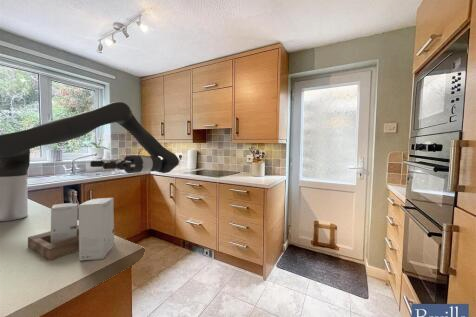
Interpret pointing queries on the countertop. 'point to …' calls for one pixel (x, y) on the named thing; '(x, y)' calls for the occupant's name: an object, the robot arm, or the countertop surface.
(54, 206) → the skincare box
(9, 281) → the countertop surface
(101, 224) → the skincare box
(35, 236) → the socket block
